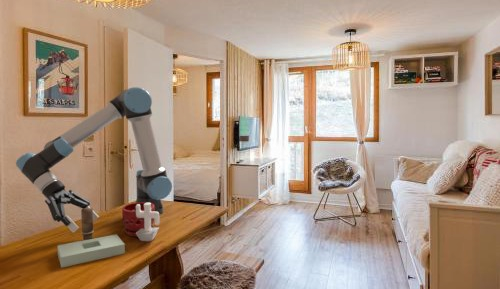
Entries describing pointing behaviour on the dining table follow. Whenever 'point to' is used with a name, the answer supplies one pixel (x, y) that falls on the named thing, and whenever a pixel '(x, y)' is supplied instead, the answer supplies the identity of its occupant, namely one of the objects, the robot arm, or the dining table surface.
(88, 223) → the peg
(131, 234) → the plant pot
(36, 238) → the dining table surface
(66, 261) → the board
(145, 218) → the figurine
